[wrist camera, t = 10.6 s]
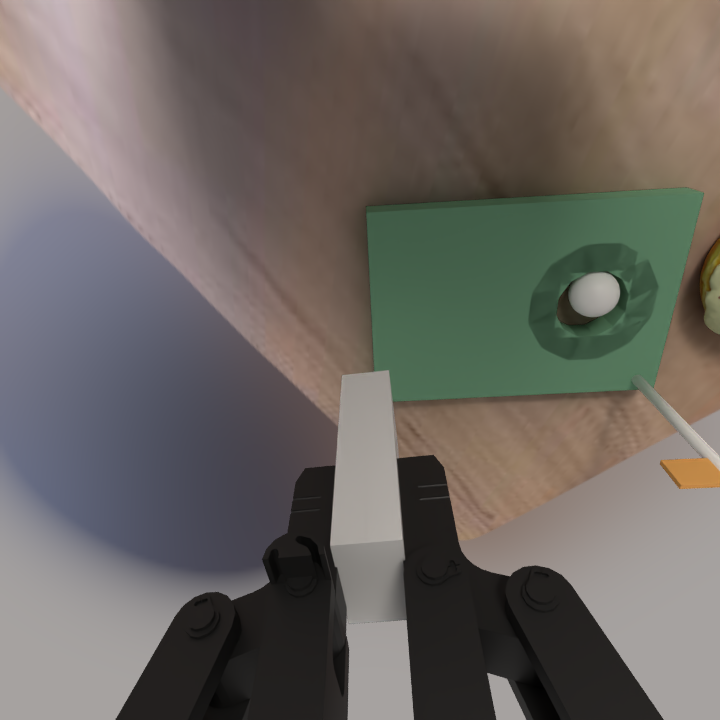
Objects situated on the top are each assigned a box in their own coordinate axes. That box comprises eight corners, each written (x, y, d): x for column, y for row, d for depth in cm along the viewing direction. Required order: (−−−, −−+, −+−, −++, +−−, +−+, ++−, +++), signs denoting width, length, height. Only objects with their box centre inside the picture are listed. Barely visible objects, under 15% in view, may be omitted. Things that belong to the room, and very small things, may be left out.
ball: (568, 266, 36) (622, 264, 34) (570, 275, 39) (619, 274, 37) (566, 314, 36) (620, 314, 34) (568, 319, 39) (617, 319, 37)
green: (365, 206, 35) (369, 271, 23) (686, 187, 35) (867, 243, 22) (375, 389, 42) (381, 514, 30) (640, 376, 42) (758, 497, 29)
